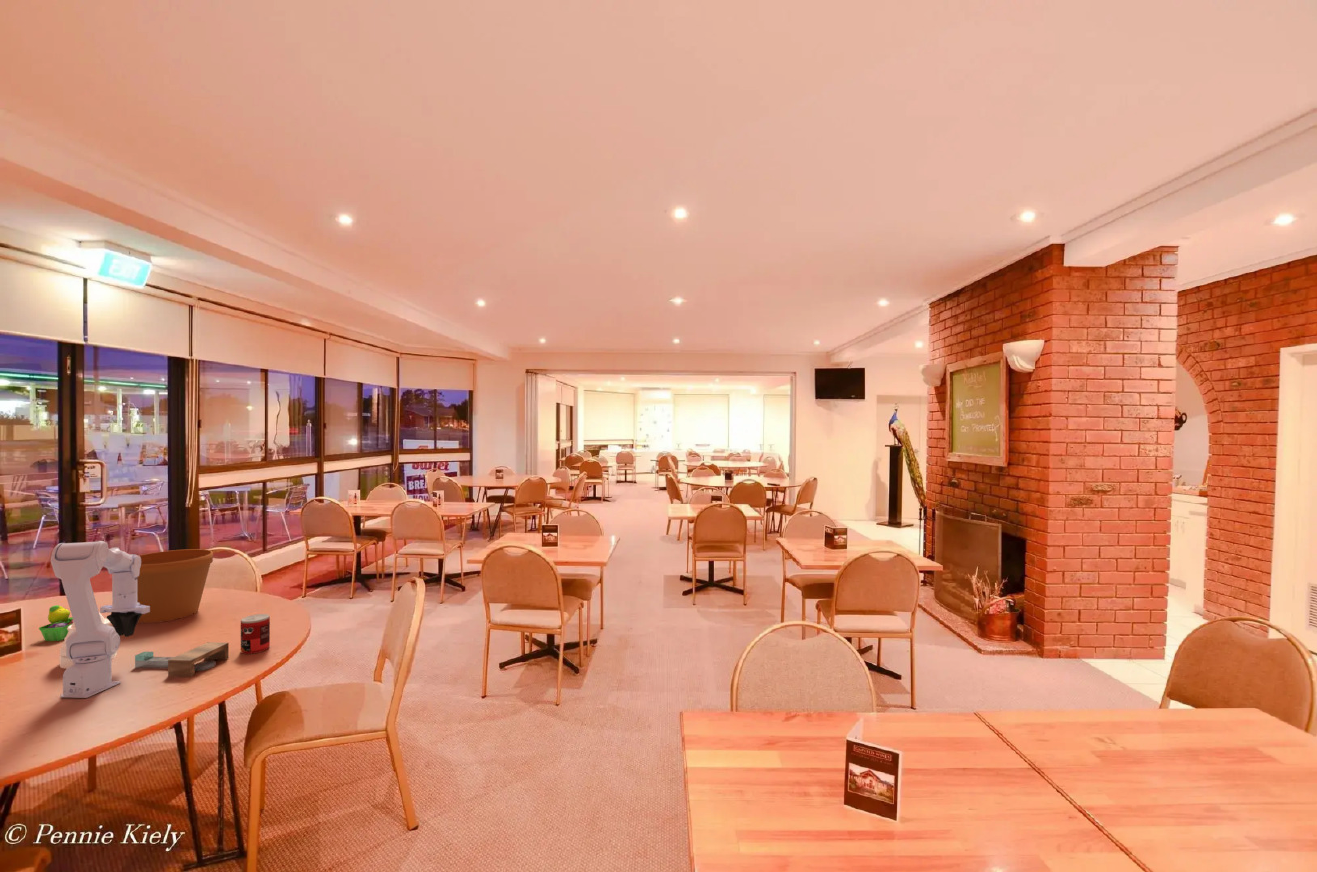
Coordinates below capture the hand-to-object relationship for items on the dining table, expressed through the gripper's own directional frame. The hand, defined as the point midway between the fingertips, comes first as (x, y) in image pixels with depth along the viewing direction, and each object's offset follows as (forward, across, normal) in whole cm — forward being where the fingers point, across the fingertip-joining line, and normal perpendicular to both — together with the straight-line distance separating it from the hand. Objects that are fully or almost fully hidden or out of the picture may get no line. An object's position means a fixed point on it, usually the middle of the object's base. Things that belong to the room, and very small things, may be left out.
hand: (125, 635), depth 175 cm
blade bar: (+10, -12, 0) cm, 16 cm away
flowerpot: (+10, +30, -46) cm, 56 cm away
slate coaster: (+10, -26, 0) cm, 28 cm away
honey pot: (+10, +16, -3) cm, 19 cm away
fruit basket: (+10, +46, -22) cm, 52 cm away
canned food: (+10, -32, -14) cm, 36 cm away
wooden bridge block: (+9, -24, 0) cm, 26 cm away
